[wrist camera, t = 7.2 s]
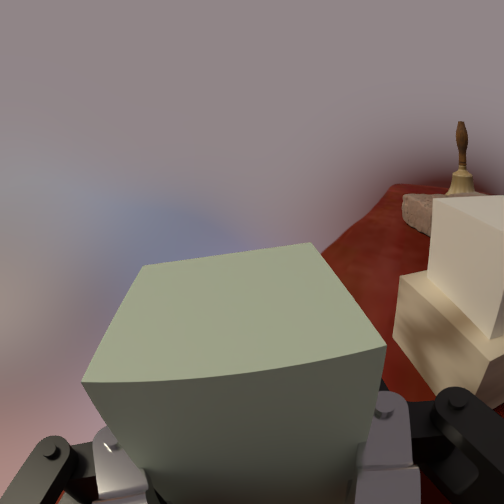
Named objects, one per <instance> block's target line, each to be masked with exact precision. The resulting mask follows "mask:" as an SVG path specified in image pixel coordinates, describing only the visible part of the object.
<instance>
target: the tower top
mask: <svg viewBox="0 0 504 504" xmlns="http://www.w3.org/2000/svg"><path fill="white" fill-rule="evenodd" d="M427 278H428V279H429V280H430V281H431V282H433V283H434V284H435V285H436V286H437V287H438V288H439V289H440V290H441V291H442V292H443V293H444V294H445V295H446V296H447V297H448V298H449V299H450V300H451V301H452V302H453V303H454V304H455V305H456V306H457V307H458V308H459V309H460V310H461V311H462V312H463V313H464V314H465V315H466V316H467V317H468V318H469V319H470V320H471V321H472V322H473V323H474V324H475V325H476V326H477V327H478V328H479V329H480V330H481V331H482V332H483V334H484V335H485V336H486V337H487V338H488V339H489V340H491V339H493V338H496V337H499V336H501V335H504V195H498V196H471V197H450V198H433V208H432V227H431V241H430V252H429V262H428V270H427Z"/></svg>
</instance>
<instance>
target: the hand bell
mask: <svg viewBox="0 0 504 504" xmlns="http://www.w3.org/2000/svg"><path fill="white" fill-rule="evenodd" d="M456 141H457V146H458V150H459V169H458V171H456V172H454V173H453V176H452V183H451V186H450V189H449V191H448V192H447V193H446V194H445V195H450V194H455V193H471V192H475V190H474V185H473V176H472V175H471V174H470V173H468V171H467V170H466V149H467V145H468V135H467V130H466V128H465V124H464V122H462V121H459V122H458V126H457V130H456Z"/></svg>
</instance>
